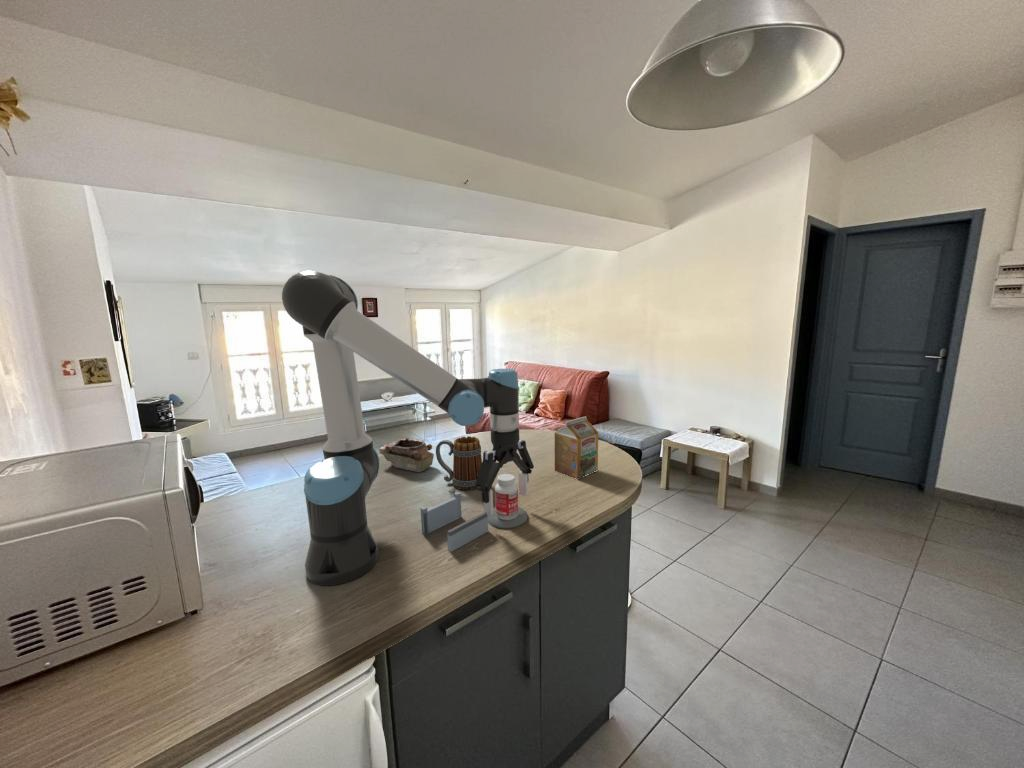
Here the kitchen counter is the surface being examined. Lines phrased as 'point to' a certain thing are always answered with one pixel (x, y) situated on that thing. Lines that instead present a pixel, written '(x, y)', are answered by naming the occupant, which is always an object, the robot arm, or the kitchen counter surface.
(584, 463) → the milk carton
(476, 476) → the mug
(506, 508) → the pill bottle
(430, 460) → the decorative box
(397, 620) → the kitchen counter surface
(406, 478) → the kitchen counter surface
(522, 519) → the coaster
